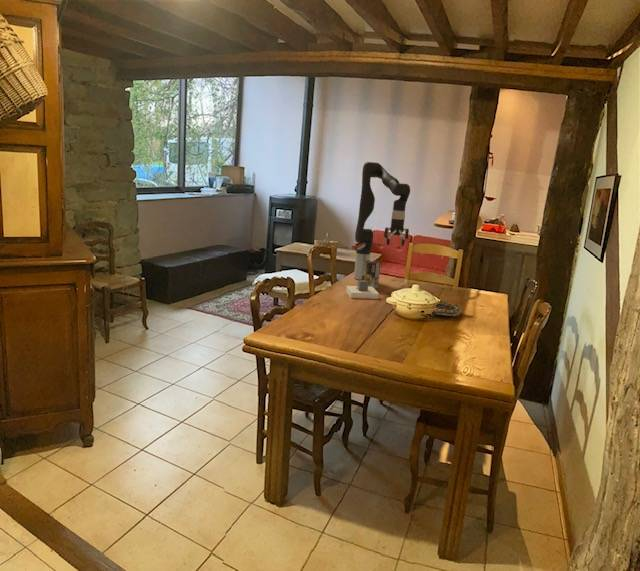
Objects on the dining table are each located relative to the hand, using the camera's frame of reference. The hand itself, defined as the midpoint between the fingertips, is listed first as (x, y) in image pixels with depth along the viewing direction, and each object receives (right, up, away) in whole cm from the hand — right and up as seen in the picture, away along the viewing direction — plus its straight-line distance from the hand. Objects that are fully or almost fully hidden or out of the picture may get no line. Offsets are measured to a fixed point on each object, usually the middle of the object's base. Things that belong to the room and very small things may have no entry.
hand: (395, 245), depth 286 cm
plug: (-20, -29, -7) cm, 36 cm away
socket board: (-20, -29, -7) cm, 36 cm away
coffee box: (-14, -25, +13) cm, 31 cm away
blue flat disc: (+19, -39, -31) cm, 54 cm away
